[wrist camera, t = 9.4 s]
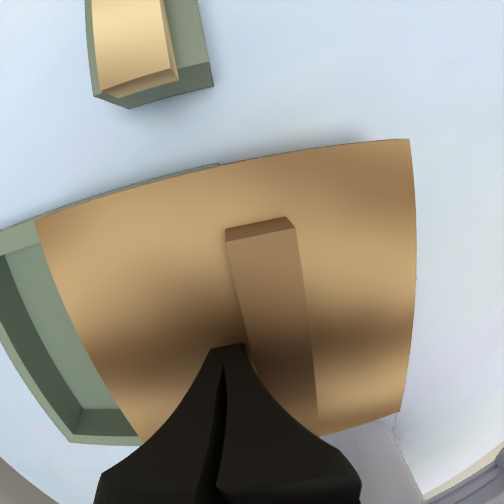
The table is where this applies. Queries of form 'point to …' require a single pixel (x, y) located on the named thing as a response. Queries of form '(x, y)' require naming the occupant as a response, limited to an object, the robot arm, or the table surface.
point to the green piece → (55, 341)
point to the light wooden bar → (132, 45)
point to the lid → (250, 281)
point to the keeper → (185, 50)
